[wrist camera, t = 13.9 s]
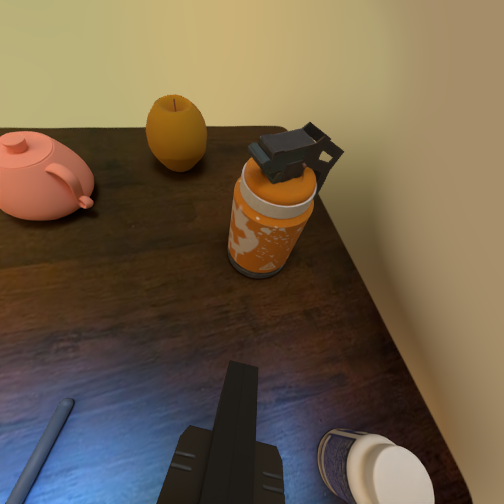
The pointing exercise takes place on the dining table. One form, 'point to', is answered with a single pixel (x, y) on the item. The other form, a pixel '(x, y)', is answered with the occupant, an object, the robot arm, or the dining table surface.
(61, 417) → the axe
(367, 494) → the pill bottle
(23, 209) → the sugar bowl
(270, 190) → the canister
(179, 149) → the apple
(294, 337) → the dining table surface
